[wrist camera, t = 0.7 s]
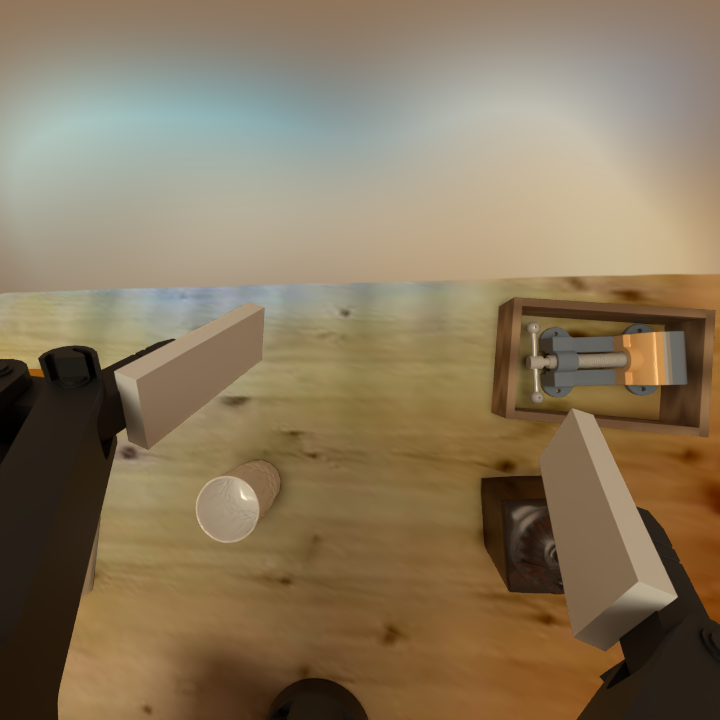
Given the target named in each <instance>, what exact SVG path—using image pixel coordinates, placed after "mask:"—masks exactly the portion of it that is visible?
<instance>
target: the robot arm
mask: <svg viewBox="0 0 720 720" xmlns="http://www.w3.org/2000/svg"><path fill="white" fill-rule="evenodd" d="M264 309H265V307H262V306H259V305H256V304H253V303H250V302H249V303H247V304H245V305H243V306H241V307H239V308H237V309H235V310H233V311H231V312H230V313H228V314H226V315H224V316H222V317H220V318H218V319H216V320H214V321H212V322H210V323H208V324H206V325H204V326H202V327H200V328H198V329H196V330H194V331H192V332H190V333H188V334H186V335H184V336H182V337H180V338H178V339H177V340H176V339H170V340H166V341H161V342H158V343H156V344H154V345H152V346H150V347H147V348H146V349H145V350H141V351H139V352H137V353H136V354H135V355H131V356H129V357H127V358H125V359H123V360H121V361H119V362H117V363H115V364H113V365H111V366H109V367H107V368H105V369H103V370H101V367H100V363H99V359H98V354H97V352H96V351H95V350H94V349H93V348H89V347H86V346H65V347H60V348H56V349H52V350H50V351H48V352H46V353H43V354H42V355H41V356H40V357H39V358H38V359H39V362H40V365H41V368H42V371H43V374H44V377H38V376H31V375H30V372H29V370H28V367H27V364H26V363H24V362H23V361H20V360H15V359H0V720H58V704H57V703H58V693H59V688H60V683H61V679H62V675H63V670H64V666H65V662H66V658H67V654H68V649H69V645H70V641H71V637H72V632H73V628H74V624H75V620H76V615H77V611H78V607H79V603H80V599H81V594H82V590H83V586H84V582H85V577H86V573H87V569H88V565H89V560H90V556H91V552H92V548H93V543H94V539H95V535H96V531H97V527H98V522H99V518H100V514H101V510H102V505H103V501H104V497H105V493H106V488H107V484H108V480H109V476H110V471H111V467H112V463H113V459H114V455H115V450H116V446H117V436H116V434H117V433H119V432H120V431H122V430H123V429H125V428H126V430H127V435H128V440H129V441H130V442H132V443H134V444H136V445H139V446H141V447H143V448H146V449H150V448H151V447H152V446H153V445H155V444H156V443H157V442H158V441H160V440H161V439H162V438H163V437H165V436H166V435H167V434H168V433H170V432H171V431H172V430H174V429H175V428H176V427H177V426H179V425H180V424H181V423H182V422H184V421H185V420H186V419H187V418H189V417H190V416H191V415H192V414H194V413H195V412H196V411H197V410H199V409H200V408H201V407H203V406H204V405H205V404H206V403H208V402H209V401H210V400H211V399H213V398H214V397H215V396H216V395H218V394H219V393H220V392H221V391H223V390H224V389H225V388H226V387H228V386H229V385H230V384H232V383H233V382H234V381H235V380H237V379H238V378H239V377H240V376H242V375H243V374H244V373H245V372H247V371H248V370H249V369H250V368H252V367H253V366H254V365H255V364H257V363H258V362H259V361H261V360H262V346H263V327H264ZM539 463H540V468H541V473H542V478H543V484H544V489H545V494H546V499H547V504H548V509H549V514H550V520H551V525H552V530H553V535H554V540H555V545H556V551H557V556H558V561H559V566H560V571H561V576H562V581H563V587H564V592H565V597H566V602H567V607H568V612H569V618H570V623H571V628H572V633H573V637H574V638H576V639H579V640H581V641H583V642H586V643H588V644H590V645H592V646H595V647H597V648H599V649H601V650H604V651H606V650H607V649H609V648H610V647H611V646H613V645H614V644H615V643H617V642H618V641H620V644H621V647H622V651H623V654H624V657H625V659H624V660H623V661H621V662H620V663H618V664H617V665H615V666H614V667H613V668H611V669H610V670H608V671H607V672H605V673H604V674H602V675H601V676H600V678H601V679H602V680H603V681H604V683H603V684H602V686H601V687H600V688H599V690H598V691H597V692H596V694H595V695H594V697H593V698H592V699H591V701H590V702H589V703H588V705H587V706H586V707H585V709H584V710H583V712H582V713H581V714H580V716H579V717H578V718H577V720H720V625H719V624H718V623H717V622H715V621H713V620H711V619H710V618H709V616H708V614H707V612H706V610H705V608H704V606H703V604H702V603H701V601H700V599H699V597H698V595H697V593H696V591H695V589H694V587H693V585H692V583H691V581H690V579H689V577H688V575H687V573H686V571H685V570H684V568H683V566H682V564H680V563H679V561H680V560H679V558H678V556H677V554H676V552H675V550H674V549H672V544H671V542H670V540H669V538H668V537H667V535H666V533H665V531H664V529H663V528H662V526H661V525H660V524H659V523H658V522H657V521H656V519H655V518H654V517H653V516H652V515H651V514H650V512H649V511H647V510H644V509H642V508H639V507H636V506H635V504H634V501H633V499H632V497H631V495H630V493H629V491H628V489H627V486H626V484H625V482H624V480H623V478H622V476H621V473H620V471H619V469H618V467H617V465H616V463H615V461H614V458H613V456H612V454H611V452H610V450H609V448H608V446H607V443H606V441H605V439H604V437H603V435H602V433H601V430H600V428H599V426H598V424H597V422H596V420H595V418H594V415H592V414H589V413H586V412H582V411H579V410H576V409H573V408H572V409H571V410H570V412H569V413H568V415H567V416H566V418H565V419H564V421H563V423H562V424H561V426H560V427H559V429H558V430H557V432H556V433H555V435H554V436H553V438H552V439H551V441H550V442H549V444H548V445H547V447H546V449H545V450H544V452H543V453H542V455H541V456H540V458H539ZM266 720H368V719H367V716H366V714H365V712H364V710H363V708H362V707H361V705H360V704H359V702H358V701H357V700H356V699H355V697H354V696H353V695H352V694H350V693H349V692H348V691H347V690H345V689H344V688H342V687H341V686H339V685H337V684H335V683H332V682H329V681H326V680H320V679H309V680H303V681H299V682H297V683H294V684H292V685H290V686H289V687H287V688H286V689H285V690H283V691H282V692H281V693H280V694H279V695H278V697H277V698H276V699H275V701H274V702H273V704H272V706H271V708H270V711H269V714H268V716H267V719H266Z"/></svg>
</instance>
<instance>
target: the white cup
mask: <svg viewBox="0 0 720 720" xmlns="http://www.w3.org/2000/svg"><path fill="white" fill-rule="evenodd" d="M280 484H281V480H280V477H279V474H278V471H277V470H276V469H275V468H274V467H273V466H272V464H271V463H268V462H265V461H263V460H255V461H250V462H248V463H246V464H244V465H241V466H238V467H236V468H234V469H232V470H230V471H228V472H226V473H224V474H222V475H220V476H218V477H216V478H214V479H212V480H211V481H209V482H208V483H207V484H206V485H205V486H204V487H203V488H202V490H201V491H200V493H199V495H198V498H197V502H196V516H197V520H198V522H199V525H200V526H201V528H202V529H203V531H204V532H205V533H206V534H207V535H208V536H209V537H211V538H212V539H214V540H216V541H219V542H224V543H233V542H237V541H240V540H242V539H244V538H245V537H247V536H248V535H249V534H250V533H251V532H252V531H253V529H254V528H255V527H256V525H257V524H258V523H259V521H260V520H261V519H262V517H263V516H264V515H265V513H266V512H267V510H268V509H269V508H270V506H271V505H272V503H273V501H274V499H275V498H276V496H277V495H278V493H279V491H280Z"/></svg>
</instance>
